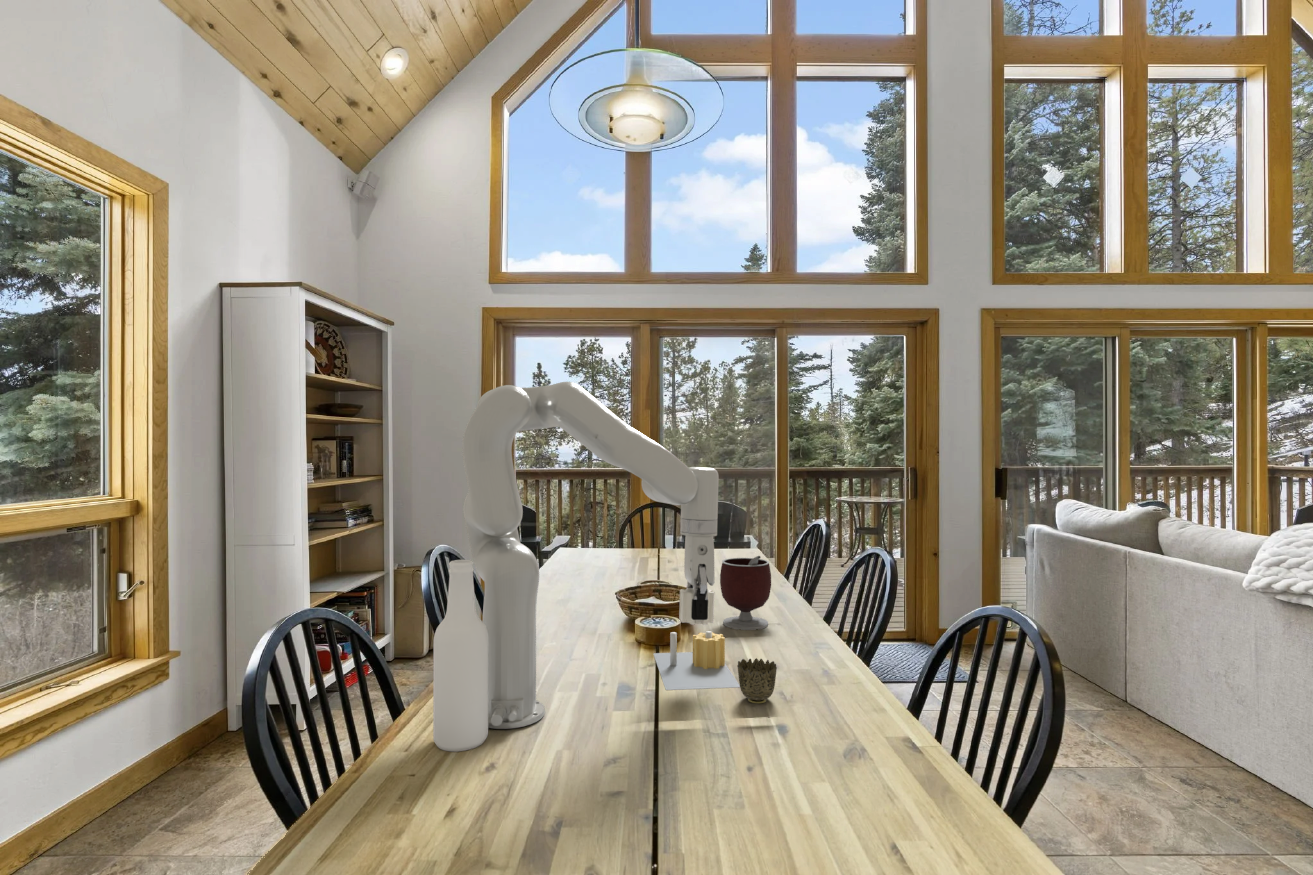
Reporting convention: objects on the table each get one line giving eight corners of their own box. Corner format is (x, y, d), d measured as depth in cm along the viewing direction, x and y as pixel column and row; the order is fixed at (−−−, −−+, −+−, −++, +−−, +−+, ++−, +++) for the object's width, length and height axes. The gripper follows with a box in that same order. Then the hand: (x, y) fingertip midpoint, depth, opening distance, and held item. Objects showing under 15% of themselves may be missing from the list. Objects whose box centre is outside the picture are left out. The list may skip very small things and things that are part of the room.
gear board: (740, 693, 140) (740, 651, 140) (665, 696, 138) (665, 654, 138) (717, 656, 164) (717, 621, 164) (653, 658, 162) (653, 622, 162)
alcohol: (431, 734, 120) (432, 558, 120) (484, 727, 123) (484, 555, 123) (434, 756, 112) (435, 567, 112) (491, 747, 115) (491, 563, 115)
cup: (776, 715, 129) (776, 671, 129) (735, 711, 130) (735, 668, 130) (777, 700, 136) (777, 658, 136) (739, 697, 137) (739, 656, 137)
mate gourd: (712, 619, 197) (712, 548, 197) (757, 616, 201) (757, 546, 202) (734, 634, 182) (734, 557, 183) (783, 630, 187) (783, 554, 187)
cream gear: (715, 624, 141) (716, 594, 141) (682, 624, 140) (683, 594, 140) (709, 616, 147) (710, 587, 148) (677, 616, 147) (678, 587, 147)
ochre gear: (727, 668, 151) (727, 640, 151) (695, 669, 151) (695, 641, 151) (720, 658, 158) (720, 631, 158) (690, 659, 157) (690, 632, 157)
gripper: (725, 532, 136) (723, 625, 136) (709, 523, 153) (706, 605, 153) (687, 532, 135) (684, 625, 135) (674, 522, 152) (672, 605, 152)
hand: (696, 614), depth 144 cm, fingers closed on cream gear, 6 cm apart
